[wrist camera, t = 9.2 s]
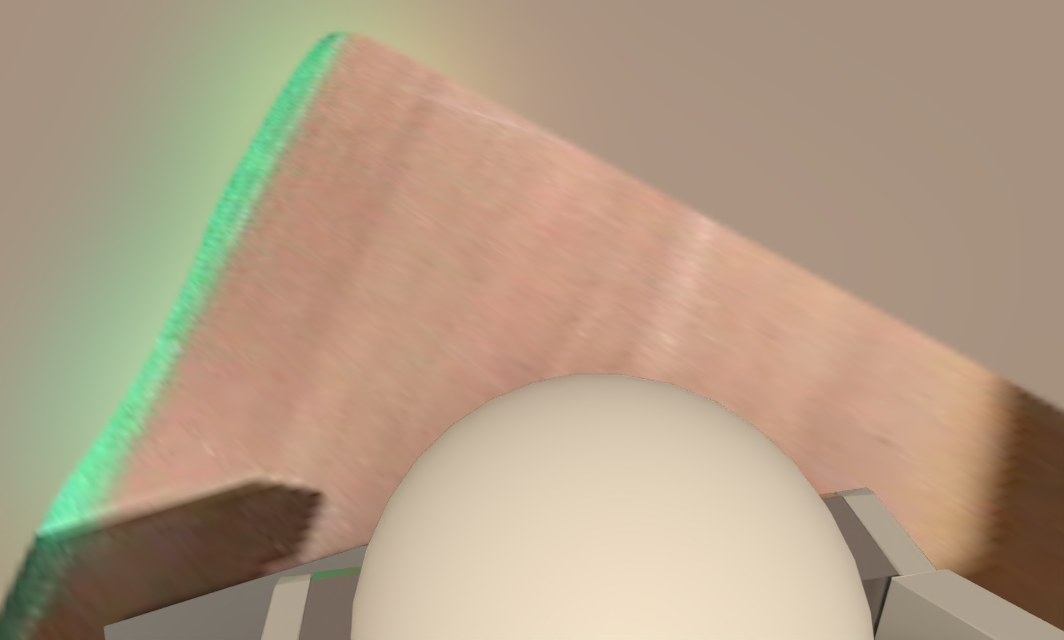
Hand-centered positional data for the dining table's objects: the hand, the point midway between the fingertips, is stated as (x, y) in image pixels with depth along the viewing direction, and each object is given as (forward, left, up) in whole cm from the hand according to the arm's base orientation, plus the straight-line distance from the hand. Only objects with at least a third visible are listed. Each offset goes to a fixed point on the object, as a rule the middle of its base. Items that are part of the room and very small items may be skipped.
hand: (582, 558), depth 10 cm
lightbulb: (0, 0, -6) cm, 6 cm away
